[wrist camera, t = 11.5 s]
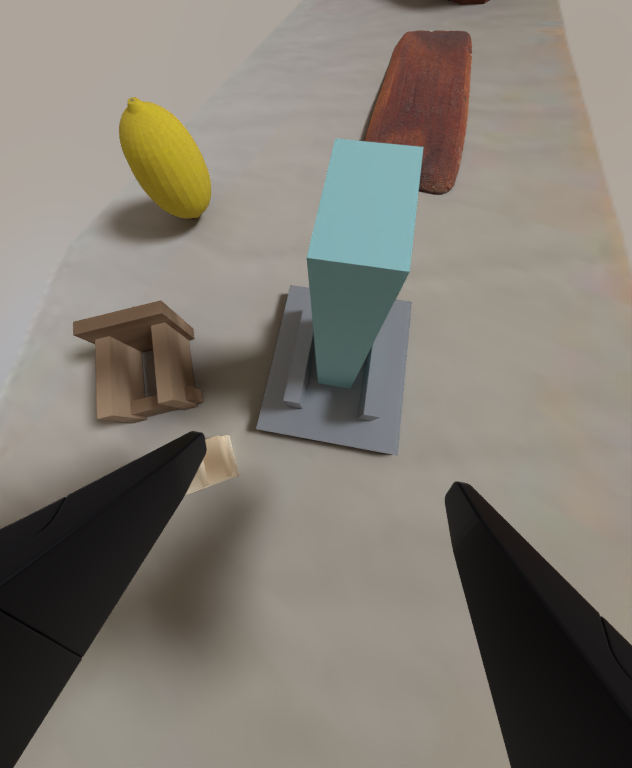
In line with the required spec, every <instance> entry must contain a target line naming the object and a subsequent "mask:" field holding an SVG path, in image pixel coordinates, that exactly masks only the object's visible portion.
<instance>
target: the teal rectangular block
mask: <svg viewBox="0 0 632 768" xmlns="http://www.w3.org/2000/svg"><path fill="white" fill-rule="evenodd" d="M422 156H423V147H418V146H408V145H397V144H387V143H376V142H366V141H355V140H345V139H335V142H334V146H333V151H332V155H331V159H330V163H329V167H328V171H327V176H326V180H325V184H324V188H323V192H322V196H321V201H320V205H319V209H318V213H317V217H316V221H315V226H314V230H313V234H312V238H311V242H310V246H309V251H308V255H307V266H308V277H309V288H310V299H311V310H312V321H313V332H314V343H315V354H316V365H317V376H318V383H320V384H326V385H331V386H337V387H342V388H348V389H350V388H351V386H352V384H353V382H354V381H355V379H356V377H357V375H358V373H359V371H360V369H361V367H362V365H363V363H364V361H365V359H366V357H367V355H368V353H369V351H370V349H371V347H372V345H373V343H374V341H375V339H376V337H377V335H378V333H379V331H380V329H381V327H382V325H383V323H384V321H385V319H386V317H387V315H388V313H389V311H390V309H391V307H392V305H393V304H394V302H395V300H396V298H397V296H398V294H399V292H400V290H401V288H402V286H403V284H404V282H405V280H406V278H407V276H408V274H409V272H410V263H411V254H412V245H413V236H414V227H415V218H416V209H417V200H418V191H419V183H420V174H421V165H422Z"/></svg>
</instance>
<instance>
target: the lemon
mask: <svg viewBox="0 0 632 768" xmlns="http://www.w3.org/2000/svg"><path fill="white" fill-rule="evenodd" d="M119 135H120V143H121V147H122V150H123V153H124V155H125V158H126V159H127V162H128V164H129V166H130V168H131V170H132V172H133V174H134V176H135V178H136V179H137V181H138V182H139V184H140V185H141V187H142V188H143V190H144V191H145V192H146V193H147V194H148V196H149V197H150V198H151V199H152V200H153V201H154V202H155V203H156V204H157V205H158V206H159V207H161V208H162V209H163V210H165V211H166V212H168V213H170V214H172V215H174V216H176V217H180V218H198V217H200V215H201V214H202V213H203V212H204V211H205V210H206V208H207V207H208V205H209V202H210V198H211V181H210V176H209V173H208V170H207V167H206V164H205V162H204V159H203V157H202V154H201V152H200V150H199V148H198V147H197V145H196V143H195V141H194V140H193V138H192V137H191V135H190V134H189V132H188V131H187V130H186V128H185V127H184V126H183V125H182V123H180V121H179V120H178V119H177V118H176V117H175V116H174V115H173V114H172V113H170V112H169V111H167V110H166V109H164V108H162V107H160V106H159V105H156V104H154V103H150V102H143V101H140V100H139V99H137V98H136V97H133V98H130V99H129V100H128V107H127V108H126V109H125V111H124V112H123V114H122V117H121V120H120V125H119Z"/></svg>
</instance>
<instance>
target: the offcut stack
mask: <svg viewBox="0 0 632 768" xmlns="http://www.w3.org/2000/svg"><path fill="white" fill-rule="evenodd" d="M205 441H206V447H207V452H206V455H205V457H204V459H203V461H202V463H201V465H200V467H199V469H198V471H197V473H196V475H195V477H194V479H193V481H192V483H191V485H190V487H189V489H188V491H187V492H186V494H185V495H188V494H190V493H193V492H196V491H199V490H201V489H204V488H207V487H210V486H212V485H215V484H218V483H221V482H223V481H226V480H229V479H232V478H234V477H237V476H239V473H238V469H237V465H236V461H235V457H234V453H233V448H232V444H231V440H230V436H227V435H225V436H215V437H212V438H209V439H206V440H205Z"/></svg>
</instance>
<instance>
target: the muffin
mask: <svg viewBox="0 0 632 768" xmlns="http://www.w3.org/2000/svg"><path fill="white" fill-rule="evenodd" d="M450 1H453V2H456V3H458V4H461V5H467V4H484V3H486V2H488V1H489V0H450Z"/></svg>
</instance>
